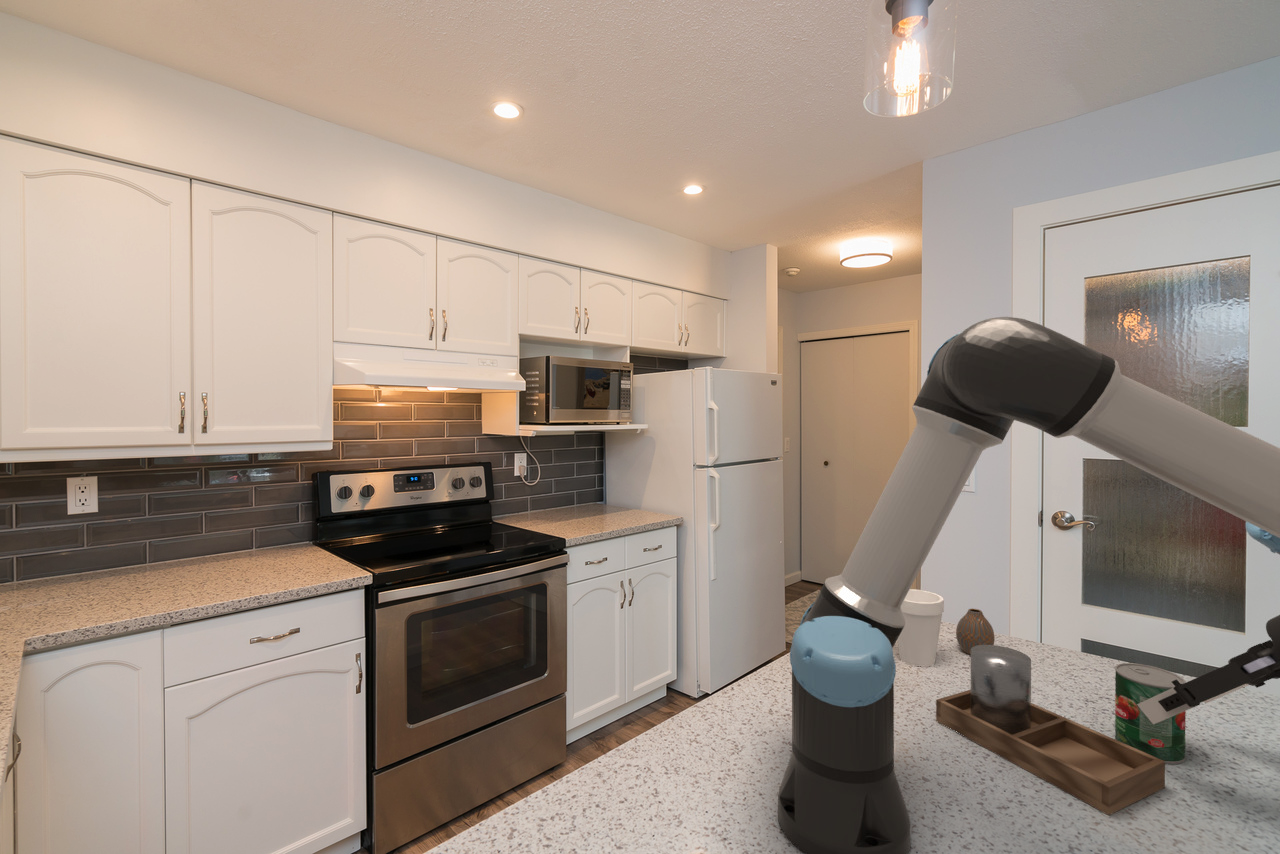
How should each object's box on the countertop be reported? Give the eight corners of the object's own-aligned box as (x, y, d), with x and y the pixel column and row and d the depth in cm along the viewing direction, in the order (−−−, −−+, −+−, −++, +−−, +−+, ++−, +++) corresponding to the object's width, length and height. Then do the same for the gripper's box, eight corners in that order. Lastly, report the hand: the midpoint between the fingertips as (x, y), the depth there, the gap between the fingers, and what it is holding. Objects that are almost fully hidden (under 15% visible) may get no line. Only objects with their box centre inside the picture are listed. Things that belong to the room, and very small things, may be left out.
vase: (964, 643, 126) (964, 602, 126) (999, 653, 121) (1000, 610, 120) (950, 651, 121) (950, 609, 121) (986, 662, 116) (986, 618, 116)
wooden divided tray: (1164, 787, 77) (1165, 761, 77) (1108, 815, 72) (1109, 787, 72) (988, 704, 99) (988, 684, 99) (936, 721, 94) (936, 699, 94)
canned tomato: (1201, 764, 82) (1202, 687, 82) (1144, 764, 82) (1145, 687, 82) (1153, 733, 90) (1153, 662, 90) (1101, 733, 90) (1101, 662, 90)
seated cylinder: (1029, 745, 85) (1030, 670, 85) (967, 728, 90) (967, 657, 90) (1031, 721, 92) (1032, 652, 92) (973, 707, 97) (973, 641, 96)
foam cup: (932, 651, 122) (932, 589, 121) (951, 671, 112) (951, 604, 112) (885, 650, 122) (885, 588, 122) (900, 669, 113) (900, 602, 113)
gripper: (1313, 686, 63) (1146, 752, 77) (1404, 646, 73) (1241, 711, 87) (1246, 621, 67) (1100, 695, 81) (1340, 592, 77) (1196, 662, 91)
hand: (1173, 703), depth 84 cm, fingers open, 13 cm apart
